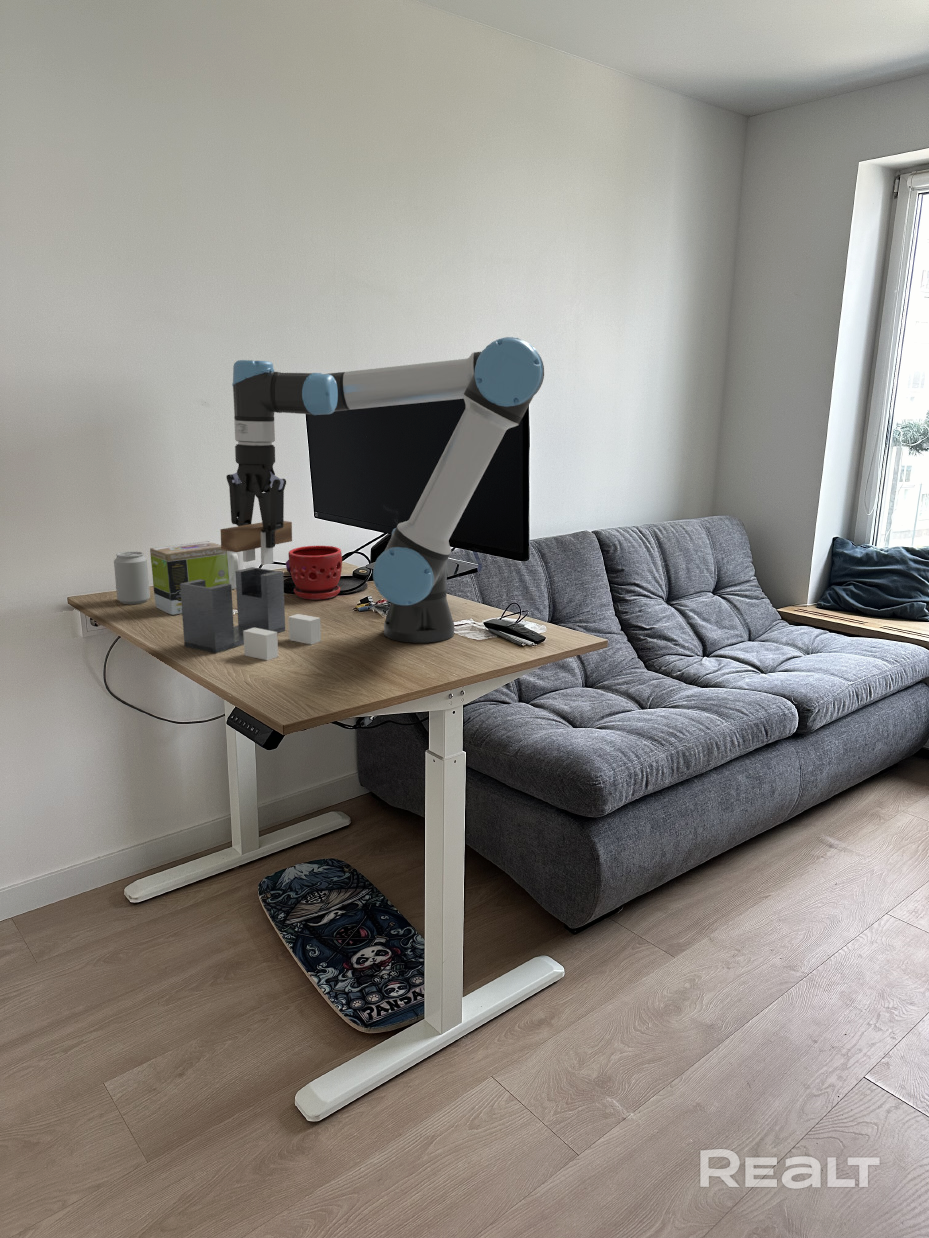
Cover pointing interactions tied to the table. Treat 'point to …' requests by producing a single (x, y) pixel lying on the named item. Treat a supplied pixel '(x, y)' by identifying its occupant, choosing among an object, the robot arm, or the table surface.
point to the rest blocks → (265, 641)
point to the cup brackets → (214, 613)
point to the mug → (234, 566)
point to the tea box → (185, 571)
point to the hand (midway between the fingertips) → (258, 561)
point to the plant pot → (316, 571)
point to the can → (131, 577)
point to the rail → (251, 536)
